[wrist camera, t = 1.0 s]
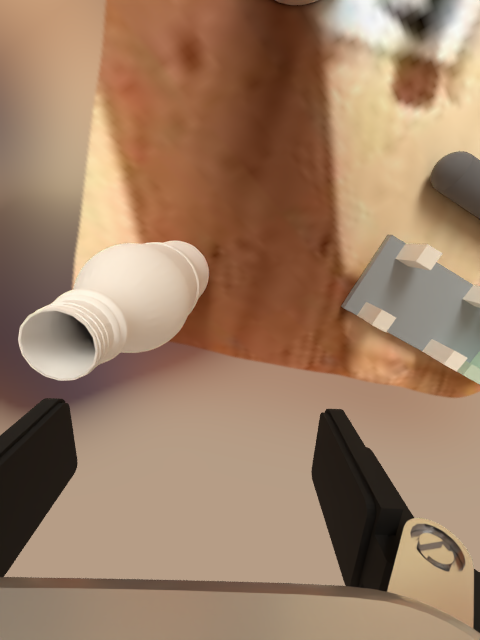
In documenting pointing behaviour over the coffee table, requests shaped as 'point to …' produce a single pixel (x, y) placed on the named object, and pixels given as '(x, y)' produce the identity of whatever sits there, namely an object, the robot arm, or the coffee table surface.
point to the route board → (421, 304)
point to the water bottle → (115, 308)
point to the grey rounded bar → (459, 180)
